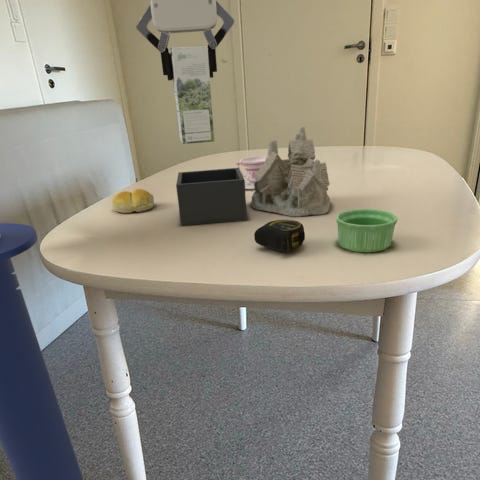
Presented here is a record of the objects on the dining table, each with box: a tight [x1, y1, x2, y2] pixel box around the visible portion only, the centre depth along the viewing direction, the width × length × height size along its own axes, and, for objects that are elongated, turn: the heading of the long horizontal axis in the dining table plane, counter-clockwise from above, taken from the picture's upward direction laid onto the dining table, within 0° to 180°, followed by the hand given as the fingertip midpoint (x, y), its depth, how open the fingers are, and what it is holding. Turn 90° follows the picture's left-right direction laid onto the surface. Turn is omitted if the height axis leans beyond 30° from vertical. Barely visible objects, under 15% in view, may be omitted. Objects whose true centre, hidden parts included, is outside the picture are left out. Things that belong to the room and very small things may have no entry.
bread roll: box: [111, 188, 155, 214], centre depth 98 cm, size 8×9×4 cm
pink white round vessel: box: [236, 155, 268, 190], centre depth 111 cm, size 12×12×6 cm
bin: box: [175, 167, 248, 226], centre depth 89 cm, size 13×13×8 cm
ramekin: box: [335, 208, 398, 253], centre depth 69 cm, size 9×9×4 cm
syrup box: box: [169, 44, 215, 145], centre depth 76 cm, size 6×6×14 cm
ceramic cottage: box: [250, 126, 331, 217], centre depth 89 cm, size 16×16×15 cm
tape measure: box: [253, 219, 306, 253], centre depth 70 cm, size 7×7×4 cm
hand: (190, 77), depth 74 cm, fingers closed on syrup box, 6 cm apart
